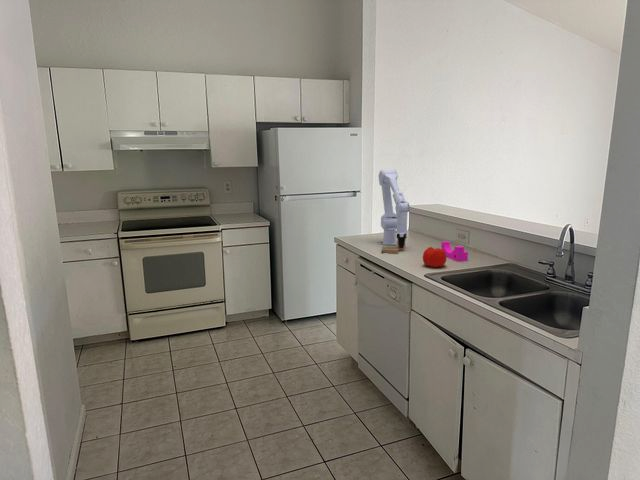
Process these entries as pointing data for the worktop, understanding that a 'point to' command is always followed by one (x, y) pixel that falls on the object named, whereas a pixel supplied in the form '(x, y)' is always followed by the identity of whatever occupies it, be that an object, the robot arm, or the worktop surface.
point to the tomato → (434, 257)
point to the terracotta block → (401, 248)
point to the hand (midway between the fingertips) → (401, 246)
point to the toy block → (454, 252)
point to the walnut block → (390, 249)
